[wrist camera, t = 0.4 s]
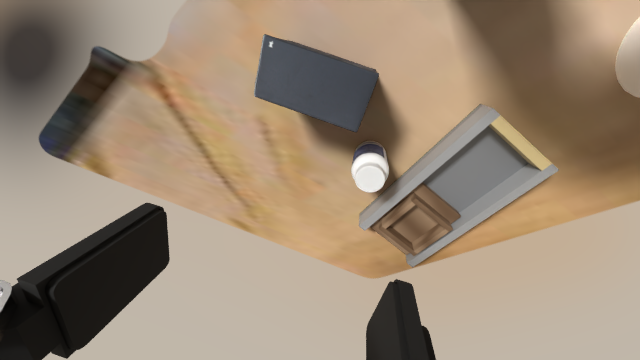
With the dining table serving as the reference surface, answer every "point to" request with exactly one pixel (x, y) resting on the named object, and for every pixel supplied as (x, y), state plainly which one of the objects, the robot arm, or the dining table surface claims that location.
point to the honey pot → (629, 61)
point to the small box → (314, 82)
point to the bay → (469, 174)
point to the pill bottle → (370, 166)
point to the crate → (416, 220)
